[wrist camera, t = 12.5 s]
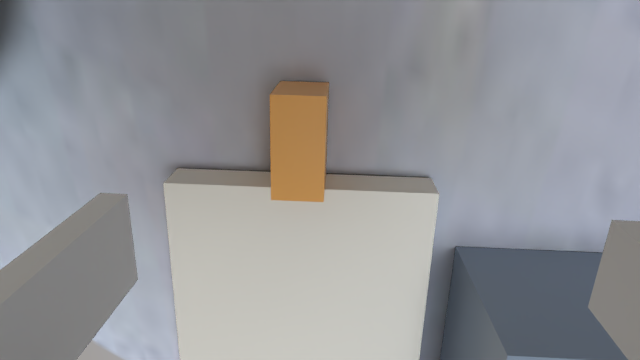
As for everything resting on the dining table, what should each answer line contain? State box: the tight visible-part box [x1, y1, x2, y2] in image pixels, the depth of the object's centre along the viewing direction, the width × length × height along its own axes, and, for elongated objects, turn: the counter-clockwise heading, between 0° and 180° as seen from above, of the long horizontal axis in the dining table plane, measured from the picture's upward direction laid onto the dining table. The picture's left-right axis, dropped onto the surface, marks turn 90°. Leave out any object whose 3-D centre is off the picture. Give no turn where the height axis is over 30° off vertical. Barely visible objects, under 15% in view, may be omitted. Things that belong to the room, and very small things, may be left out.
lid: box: [163, 81, 439, 360], centre depth 31 cm, size 23×17×5 cm
